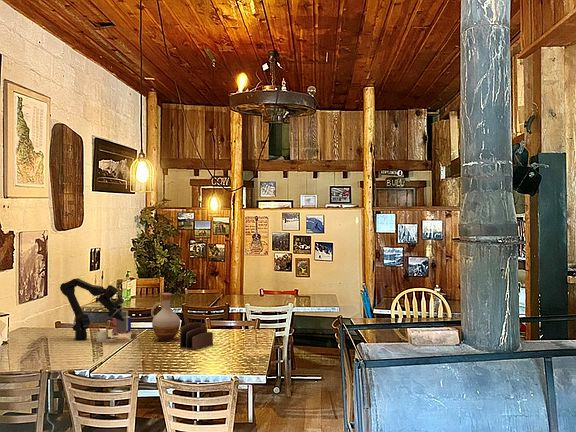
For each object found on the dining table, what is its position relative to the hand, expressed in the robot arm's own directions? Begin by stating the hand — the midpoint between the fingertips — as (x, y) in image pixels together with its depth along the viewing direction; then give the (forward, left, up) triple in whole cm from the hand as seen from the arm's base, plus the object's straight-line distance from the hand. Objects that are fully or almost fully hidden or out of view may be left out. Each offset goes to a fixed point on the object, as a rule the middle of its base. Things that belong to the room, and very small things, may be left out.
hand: (124, 319), depth 360 cm
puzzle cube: (+7, +32, -14) cm, 36 cm away
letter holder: (+33, -40, -14) cm, 53 cm away
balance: (-8, +13, -13) cm, 20 cm away
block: (+7, +5, -14) cm, 16 cm away
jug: (+23, -10, -14) cm, 29 cm away
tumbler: (-1, +1, -7) cm, 7 cm away
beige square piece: (-13, +7, -13) cm, 20 cm away
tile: (-2, 0, -13) cm, 14 cm away
